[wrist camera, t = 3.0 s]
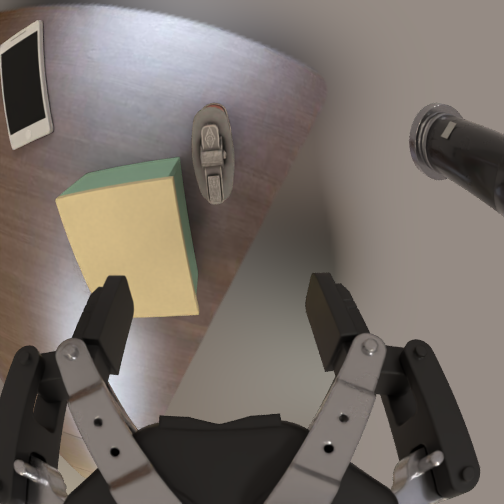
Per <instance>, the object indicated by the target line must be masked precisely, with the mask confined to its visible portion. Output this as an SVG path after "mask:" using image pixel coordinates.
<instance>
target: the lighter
mask: <svg viewBox="0 0 504 504" xmlns="http://www.w3.org/2000/svg"><path fill="white" fill-rule="evenodd" d="M191 142H192V161H193V166H194V171H195V176H196V179H197V182H198V185H199V188H200V191H201V194H202V196H203V197H204V198H205V199H207V200H209V202H210V203H211V204H221V203H222V202H223V200H225V199H227V198H228V197H229V196H230V194H231V192H232V186H233V178H234V148H233V141H232V134H231V128H230V122H229V119H228V115H227V111H226V109H225V107H224V106H223V105H221V104H218V103H211V104H208V105H206V106H205V107H204V108H203V109H202V110H200V111H199V112H198V113H197V114H196V115H195V117H194V120H193V128H192V138H191Z"/></svg>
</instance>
